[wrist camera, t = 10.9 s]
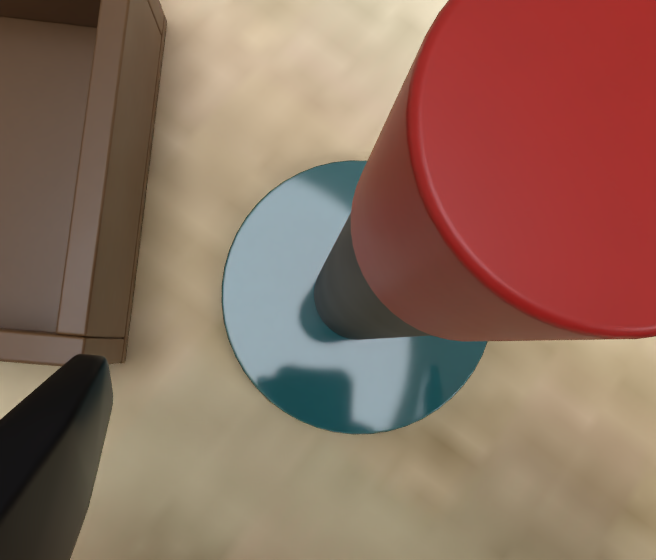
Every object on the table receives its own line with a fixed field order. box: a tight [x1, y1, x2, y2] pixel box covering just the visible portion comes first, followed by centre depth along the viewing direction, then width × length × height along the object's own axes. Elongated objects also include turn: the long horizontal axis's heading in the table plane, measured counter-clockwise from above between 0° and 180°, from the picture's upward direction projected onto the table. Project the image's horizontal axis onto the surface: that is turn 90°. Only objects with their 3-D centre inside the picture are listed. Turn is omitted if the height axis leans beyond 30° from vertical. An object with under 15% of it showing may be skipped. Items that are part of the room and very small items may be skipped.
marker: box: [314, 0, 656, 341], centre depth 11 cm, size 3×3×14 cm
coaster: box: [222, 161, 488, 434], centre depth 18 cm, size 8×8×1 cm
